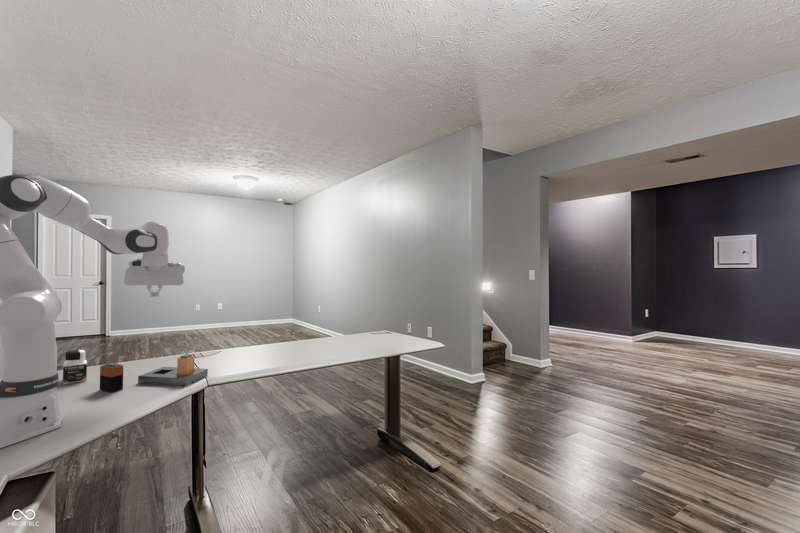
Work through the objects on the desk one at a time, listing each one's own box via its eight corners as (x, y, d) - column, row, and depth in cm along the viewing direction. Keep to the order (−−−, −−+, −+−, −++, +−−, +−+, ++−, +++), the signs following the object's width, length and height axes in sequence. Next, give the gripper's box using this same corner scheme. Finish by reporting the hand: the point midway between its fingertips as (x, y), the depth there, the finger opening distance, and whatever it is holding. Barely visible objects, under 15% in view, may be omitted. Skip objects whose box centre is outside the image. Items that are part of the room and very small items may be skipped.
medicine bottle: (62, 384, 144) (63, 353, 144) (63, 379, 149) (63, 350, 149) (86, 381, 149) (87, 351, 149) (86, 376, 154) (87, 347, 154)
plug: (186, 380, 150) (187, 356, 150) (176, 380, 150) (177, 356, 150) (193, 377, 155) (194, 354, 155) (184, 376, 155) (185, 353, 155)
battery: (111, 392, 136) (111, 365, 136) (98, 390, 138) (99, 363, 138) (123, 389, 140) (124, 362, 140) (111, 386, 142) (112, 360, 142)
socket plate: (186, 386, 145) (186, 378, 145) (138, 383, 147) (138, 376, 147) (207, 375, 159) (207, 368, 159) (163, 373, 161) (163, 366, 161)
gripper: (185, 263, 159) (184, 295, 159) (126, 262, 150) (125, 296, 150) (184, 263, 154) (183, 296, 154) (123, 261, 144) (122, 297, 144)
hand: (154, 296), depth 152 cm, fingers closed
